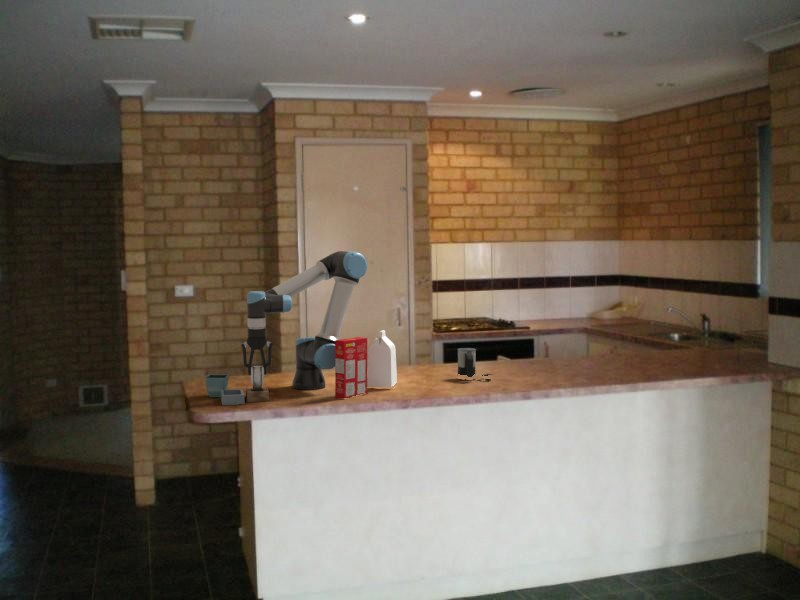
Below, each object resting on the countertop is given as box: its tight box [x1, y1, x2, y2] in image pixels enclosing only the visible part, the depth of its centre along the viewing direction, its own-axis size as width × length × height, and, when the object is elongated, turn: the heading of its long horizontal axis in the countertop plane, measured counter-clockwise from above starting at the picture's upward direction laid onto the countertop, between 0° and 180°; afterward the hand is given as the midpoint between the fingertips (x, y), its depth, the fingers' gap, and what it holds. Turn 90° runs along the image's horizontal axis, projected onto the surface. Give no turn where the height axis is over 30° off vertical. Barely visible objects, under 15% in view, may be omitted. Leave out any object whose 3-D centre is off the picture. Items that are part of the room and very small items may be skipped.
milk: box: [367, 329, 398, 387], centre depth 390 cm, size 12×12×26 cm
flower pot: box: [204, 374, 229, 399], centre depth 366 cm, size 9×9×9 cm
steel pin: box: [251, 365, 263, 391], centre depth 360 cm, size 4×4×12 cm
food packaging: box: [334, 336, 368, 399], centre depth 368 cm, size 15×5×25 cm, turn 141°
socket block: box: [245, 387, 270, 403], centre depth 361 cm, size 9×9×4 cm
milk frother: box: [457, 347, 493, 377], centre depth 411 cm, size 14×16×15 cm
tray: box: [220, 388, 245, 406], centre depth 355 cm, size 9×13×4 cm
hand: (257, 382), depth 360 cm, fingers closed on steel pin, 4 cm apart
